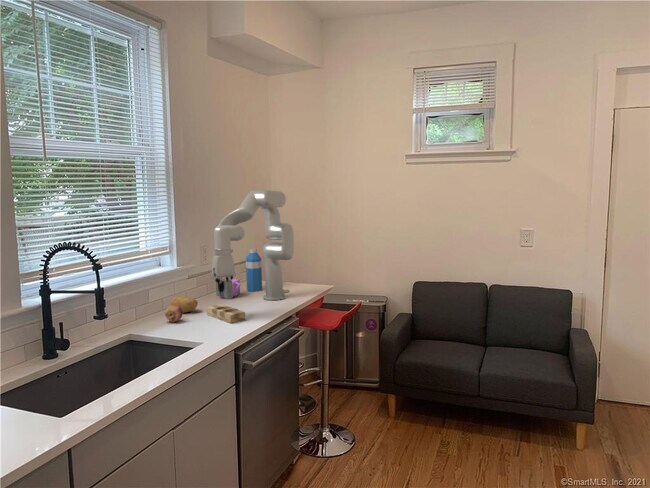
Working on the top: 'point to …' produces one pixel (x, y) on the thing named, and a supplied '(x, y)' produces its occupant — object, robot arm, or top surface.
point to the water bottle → (253, 271)
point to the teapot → (235, 287)
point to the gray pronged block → (225, 289)
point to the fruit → (173, 313)
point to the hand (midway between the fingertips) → (224, 290)
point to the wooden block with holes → (226, 313)
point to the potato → (185, 303)
